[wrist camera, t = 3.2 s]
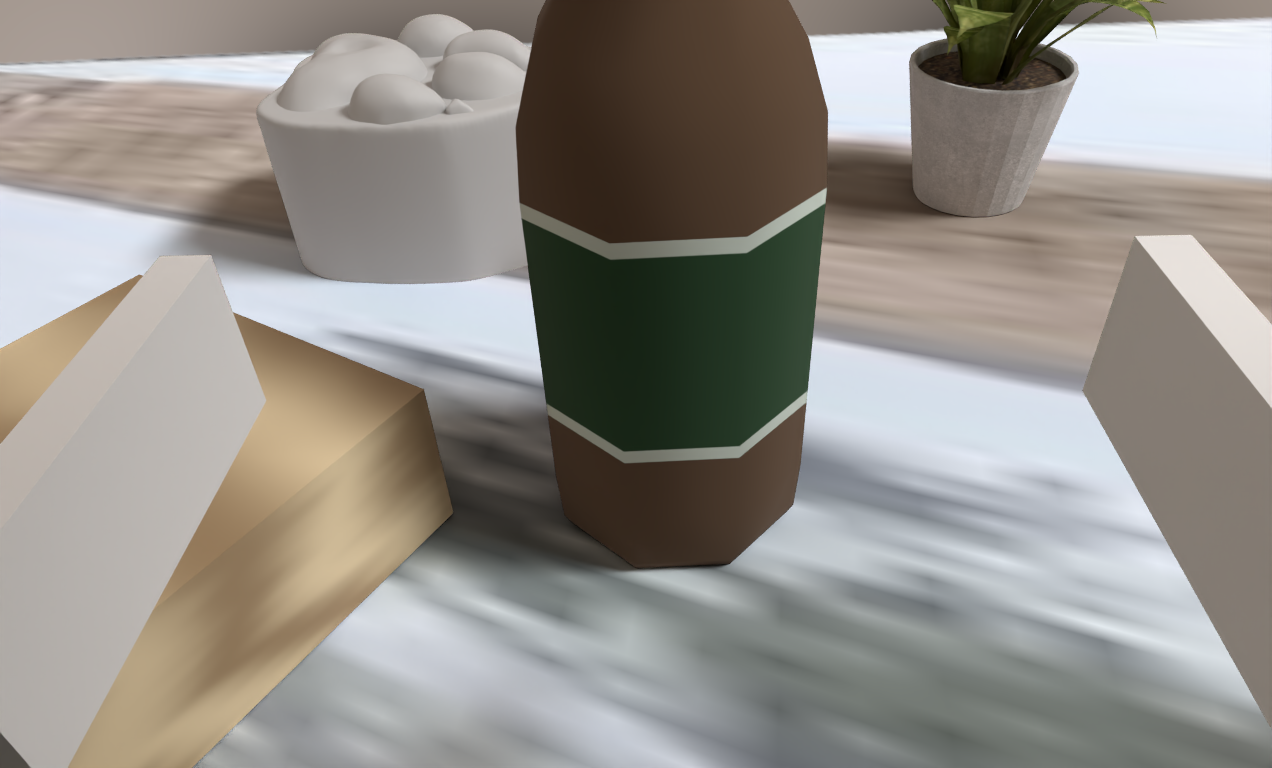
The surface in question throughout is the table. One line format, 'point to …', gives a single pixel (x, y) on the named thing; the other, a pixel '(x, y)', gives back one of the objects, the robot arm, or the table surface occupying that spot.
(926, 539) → the table surface
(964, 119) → the house plant
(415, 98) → the lumpy-topped squat cylinder
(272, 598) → the olive wood block
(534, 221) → the beer bottle
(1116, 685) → the table surface
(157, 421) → the robot arm
